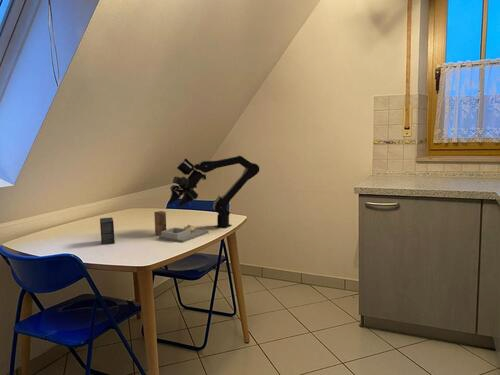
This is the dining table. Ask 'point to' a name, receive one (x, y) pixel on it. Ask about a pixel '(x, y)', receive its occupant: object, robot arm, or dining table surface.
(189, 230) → the housing
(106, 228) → the box
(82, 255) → the dining table surface
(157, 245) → the dining table surface
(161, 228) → the wooden block
